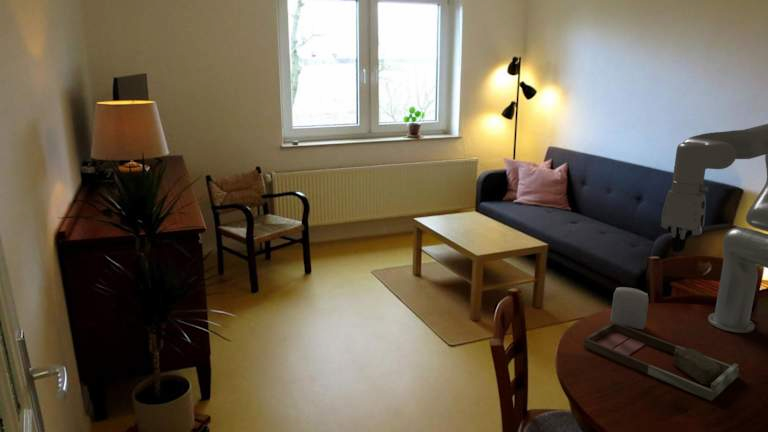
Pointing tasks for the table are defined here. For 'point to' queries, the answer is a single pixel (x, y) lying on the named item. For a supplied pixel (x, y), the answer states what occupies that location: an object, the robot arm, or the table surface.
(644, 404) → the table surface
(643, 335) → the frame
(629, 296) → the photo printer
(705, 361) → the stone block
